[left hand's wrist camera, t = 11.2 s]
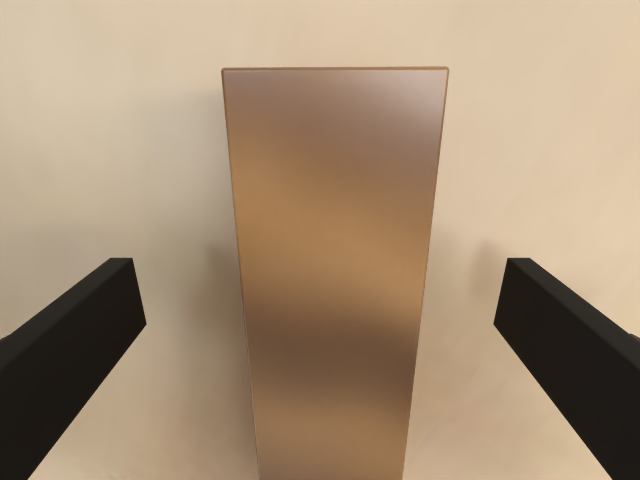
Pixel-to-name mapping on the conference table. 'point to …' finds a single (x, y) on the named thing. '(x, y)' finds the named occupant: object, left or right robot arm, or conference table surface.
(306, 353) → the beam
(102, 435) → the conference table surface
